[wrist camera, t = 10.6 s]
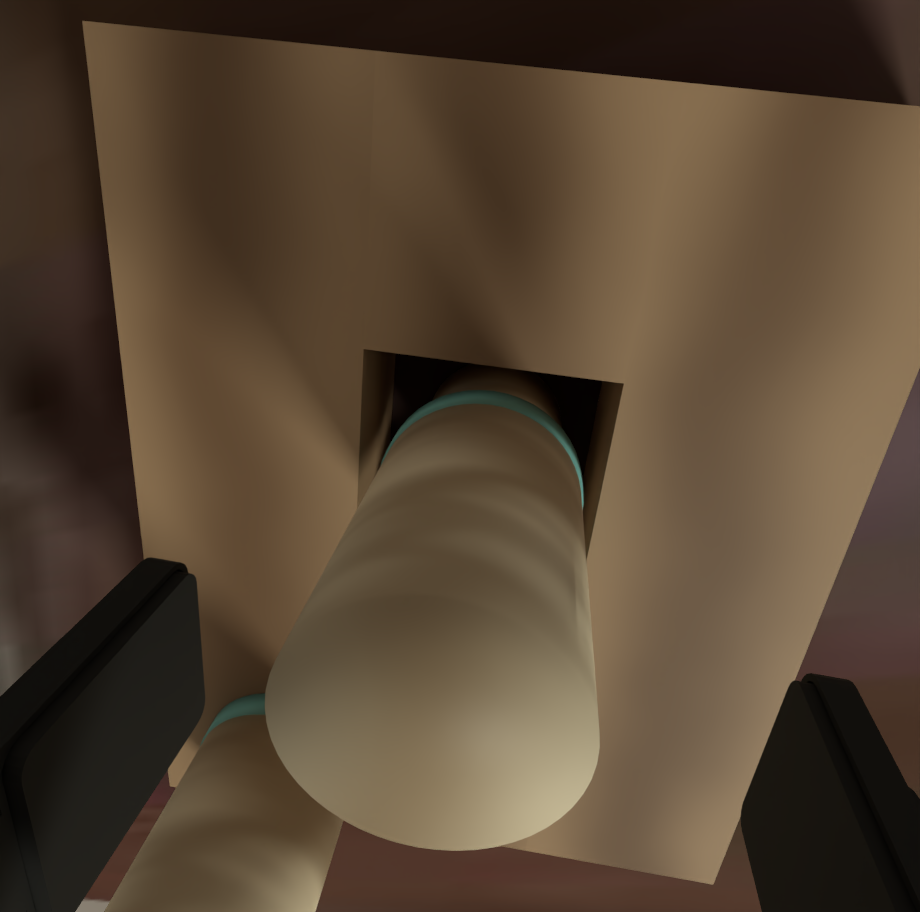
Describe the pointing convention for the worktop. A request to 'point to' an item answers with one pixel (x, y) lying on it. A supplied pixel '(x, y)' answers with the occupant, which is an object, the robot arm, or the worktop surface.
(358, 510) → the peg
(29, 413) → the worktop surface
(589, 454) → the board
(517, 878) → the worktop surface
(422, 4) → the worktop surface
